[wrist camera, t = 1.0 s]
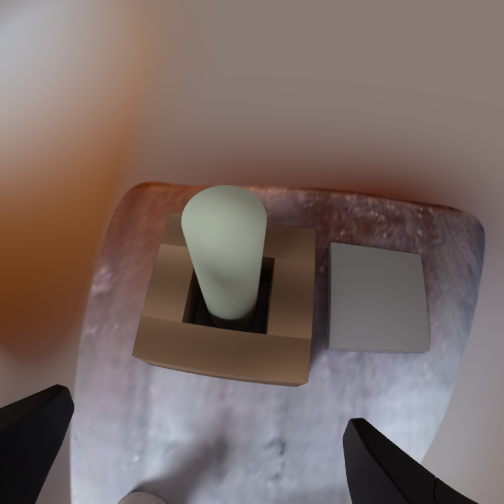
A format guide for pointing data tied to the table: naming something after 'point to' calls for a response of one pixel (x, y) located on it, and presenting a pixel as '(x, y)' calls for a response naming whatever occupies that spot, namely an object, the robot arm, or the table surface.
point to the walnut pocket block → (230, 341)
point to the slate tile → (376, 301)
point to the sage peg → (226, 251)
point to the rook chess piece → (141, 498)
